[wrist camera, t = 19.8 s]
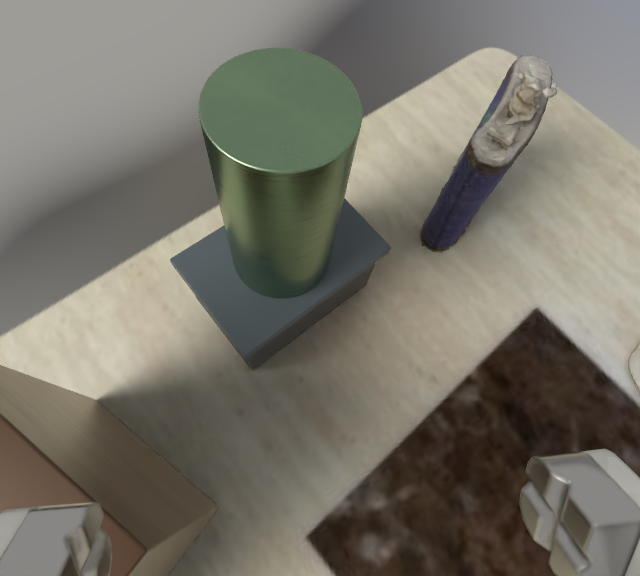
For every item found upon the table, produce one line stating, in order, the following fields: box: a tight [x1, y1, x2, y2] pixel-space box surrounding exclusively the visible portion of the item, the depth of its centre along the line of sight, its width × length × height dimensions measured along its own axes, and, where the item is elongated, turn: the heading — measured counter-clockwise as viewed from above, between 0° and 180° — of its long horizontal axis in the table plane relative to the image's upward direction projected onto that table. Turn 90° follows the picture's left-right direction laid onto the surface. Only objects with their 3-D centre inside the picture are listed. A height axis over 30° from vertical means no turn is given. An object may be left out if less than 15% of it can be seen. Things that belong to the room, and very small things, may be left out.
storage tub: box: [170, 198, 391, 370], centre depth 25 cm, size 10×6×5 cm
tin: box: [199, 48, 362, 298], centre depth 18 cm, size 5×5×10 cm
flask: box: [420, 56, 557, 252], centre depth 26 cm, size 9×3×11 cm, turn 150°
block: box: [0, 365, 218, 576], centre depth 16 cm, size 9×9×13 cm
